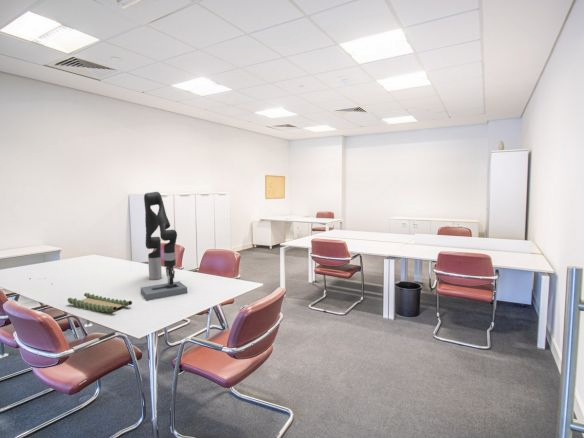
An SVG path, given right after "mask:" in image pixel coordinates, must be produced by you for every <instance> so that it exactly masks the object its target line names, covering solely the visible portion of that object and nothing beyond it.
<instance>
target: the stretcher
mask: <svg viewBox="0 0 584 438" xmlns="http://www.w3.org/2000/svg"><path fill="white" fill-rule="evenodd" d="M83 296H84V297H85V298H83V299H78V298H76V297H75V298H73V297H68V298H67V303H68V304H69V305H73V306H74V307H77V308H81V309H86V310H89V311H94V312H101V313H112V312H115V311H116V312H117V309H119V308H122V307H128V306H132V304H133V301H132V300H128V301H127V300H126V299H123V300H122V299H118V298H116V299H114V298H110V297H108V298H107V297H106V296H105V297H103V296H101V295H98V294H97V295H95V294H94V293H93V294H90V292H85V293H84V294H83Z"/></svg>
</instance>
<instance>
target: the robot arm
mask: <svg viewBox="0 0 584 438" xmlns="http://www.w3.org/2000/svg"><path fill="white" fill-rule="evenodd" d="M143 196H144V197H143V201H144V202H143V203H144V211H145V218H144V219H145V247H146V249H148V250H154V249H155V250H154V251H152V252H150V253H148V256H147V257H148V258H147V261H148V263H147V264H148V278H149V280H151V281H155V280H160V279H162V278H163V277H162V275H163V274H162V256H161V255H162V254H161V253H162V252H161V250H162V248H161V246H162V245H161V244H162V243H161V240H162V241H164V242H166V241H169V242H168V243H165V244H164V245H163V266H164V267H165V274H166V276H167V275H168V276H169V280H170V284H173V282H174V279H175V273H176V272H175V269H174V266H176V264H177V263H176V262H177V261H176V260H177V258H176V249H175V247H176V243H177V239H178V233H177V230H175V229H169V228H170V227H171V223H170V220H169V219H168V216H167V213H166V209H165V205H164V201H163V198H162V195H161V193H160V192H159V191H152V192H146V193H144V195H143ZM153 206H158V211H157V214H156V212H155V211H153V209H152V208H151V207H153ZM158 227H159V234H160V236H152V235H153V234H154V233H155V232H156V231H157V230H158ZM168 276H167V277H166V278H168ZM171 276H172V277H171Z"/></svg>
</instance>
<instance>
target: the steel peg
mask: <svg viewBox="0 0 584 438" xmlns="http://www.w3.org/2000/svg"><path fill="white" fill-rule="evenodd" d="M166 276H168V275H167V274H166ZM171 277H172V276H171ZM167 283H168V288H174V287H173V284H170V280H169V276H168V277H167Z"/></svg>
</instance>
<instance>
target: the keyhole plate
mask: <svg viewBox="0 0 584 438" xmlns="http://www.w3.org/2000/svg"><path fill="white" fill-rule="evenodd" d="M173 287H174V288H168V282H166V283H158V284H154V285H148V286H147V285H146V286H141V287H140V294H141V295H142V297H143V298H144V299H145V301H152V300H158V299H162V298H168V297H174V296H179V295H184V294H187V293H188V287H187V286H186V285H185V284H183V283H182V282H181V281H180V280H179V281H173Z"/></svg>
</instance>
